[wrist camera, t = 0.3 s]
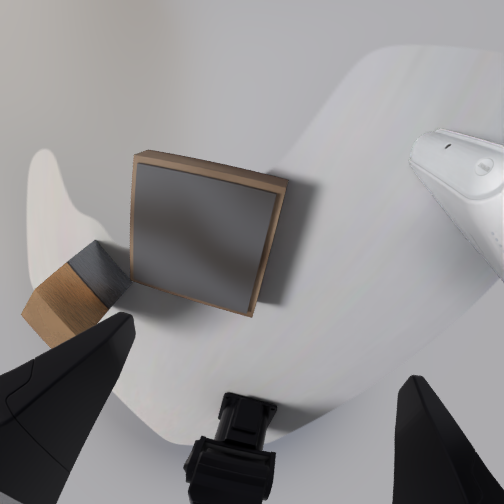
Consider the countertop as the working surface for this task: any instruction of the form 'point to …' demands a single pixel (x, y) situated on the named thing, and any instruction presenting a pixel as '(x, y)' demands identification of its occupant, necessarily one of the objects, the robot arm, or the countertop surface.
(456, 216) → the photo printer
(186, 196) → the walnut stand
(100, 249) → the tan and grey block
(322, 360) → the countertop surface
